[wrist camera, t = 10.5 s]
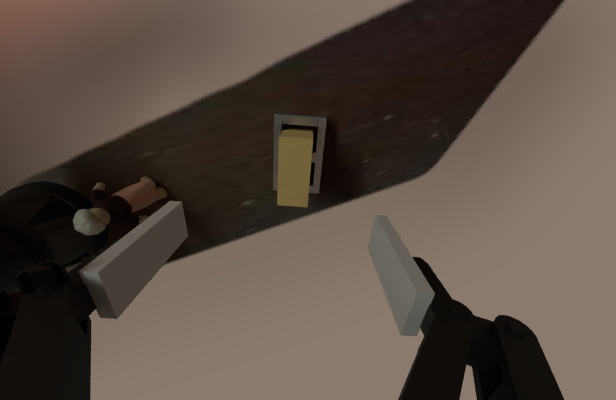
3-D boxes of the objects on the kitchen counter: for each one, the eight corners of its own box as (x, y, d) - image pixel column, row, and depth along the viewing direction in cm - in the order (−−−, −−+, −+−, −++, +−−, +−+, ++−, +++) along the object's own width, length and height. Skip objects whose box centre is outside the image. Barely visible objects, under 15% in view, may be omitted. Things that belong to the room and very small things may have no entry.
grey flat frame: (275, 184, 37) (273, 190, 35) (276, 112, 32) (274, 113, 30) (318, 188, 37) (318, 193, 35) (325, 116, 32) (326, 117, 30)
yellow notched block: (285, 176, 36) (277, 205, 27) (287, 124, 33) (278, 136, 24) (308, 178, 36) (307, 207, 27) (312, 126, 33) (313, 139, 24)
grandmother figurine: (176, 191, 37) (117, 234, 26) (167, 207, 39) (107, 255, 27) (131, 163, 35) (44, 197, 24) (123, 181, 37) (37, 221, 25)
